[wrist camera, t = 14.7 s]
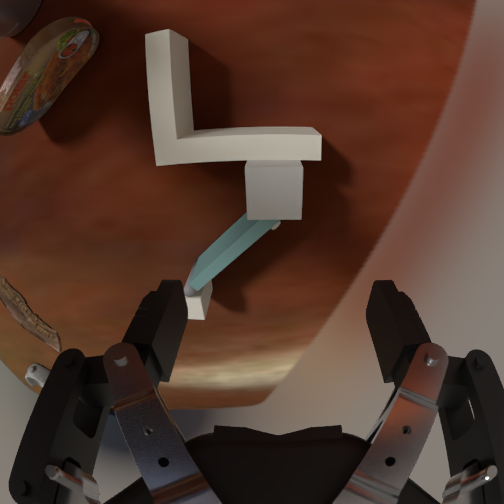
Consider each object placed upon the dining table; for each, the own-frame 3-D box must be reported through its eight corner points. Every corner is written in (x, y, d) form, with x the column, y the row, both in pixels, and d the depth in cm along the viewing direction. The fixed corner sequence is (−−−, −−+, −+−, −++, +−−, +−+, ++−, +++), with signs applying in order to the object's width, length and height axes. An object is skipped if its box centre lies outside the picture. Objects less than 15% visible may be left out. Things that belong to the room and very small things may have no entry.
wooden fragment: (71, 344, 46) (69, 347, 45) (53, 354, 49) (51, 357, 48) (-13, 248, 35) (-17, 251, 34) (-21, 271, 39) (-24, 274, 38)
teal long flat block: (272, 188, 27) (272, 209, 23) (287, 202, 28) (289, 225, 23) (192, 262, 32) (180, 292, 28) (205, 273, 33) (196, 303, 29)
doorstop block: (251, 148, 25) (244, 167, 19) (295, 148, 25) (303, 167, 19) (252, 189, 27) (247, 219, 21) (294, 189, 27) (301, 219, 21)
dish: (70, 398, 62) (64, 411, 58) (32, 373, 58) (25, 385, 54) (74, 383, 55) (67, 398, 51) (31, 353, 52) (22, 367, 47)
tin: (36, 128, 24) (-13, 147, 17) (25, 112, 23) (-23, 127, 16) (115, 35, 19) (65, 25, 12) (101, 18, 18) (52, 6, 11)
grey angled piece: (167, 43, 20) (145, 34, 16) (310, 33, 19) (319, 19, 15) (197, 288, 35) (187, 318, 30) (303, 289, 34) (307, 321, 29)
